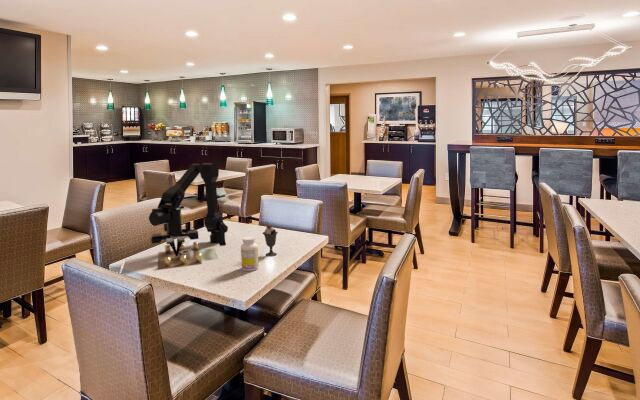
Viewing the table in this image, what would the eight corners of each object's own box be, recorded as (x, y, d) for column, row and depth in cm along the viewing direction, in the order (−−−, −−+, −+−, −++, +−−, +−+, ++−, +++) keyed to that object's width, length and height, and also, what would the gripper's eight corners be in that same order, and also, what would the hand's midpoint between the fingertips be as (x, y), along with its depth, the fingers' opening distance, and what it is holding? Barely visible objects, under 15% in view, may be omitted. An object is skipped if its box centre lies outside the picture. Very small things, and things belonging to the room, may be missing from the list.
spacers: (198, 248, 185) (197, 241, 184) (201, 262, 166) (201, 254, 166) (165, 252, 180) (164, 245, 179) (165, 267, 161) (164, 258, 161)
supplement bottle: (250, 264, 166) (248, 234, 164) (262, 267, 162) (260, 237, 160) (238, 269, 161) (236, 238, 158) (250, 272, 157) (248, 241, 155)
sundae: (263, 252, 182) (262, 220, 179) (278, 251, 182) (277, 219, 179) (263, 257, 175) (261, 223, 172) (278, 256, 176) (277, 223, 173)
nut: (193, 254, 177) (193, 248, 176) (193, 258, 172) (193, 252, 171) (179, 256, 175) (179, 250, 174) (179, 259, 170) (178, 253, 170)
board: (213, 248, 189) (213, 245, 189) (219, 264, 167) (219, 261, 167) (158, 254, 181) (158, 252, 181) (157, 272, 159) (157, 269, 159)
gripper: (195, 214, 180) (198, 248, 183) (151, 218, 174) (154, 252, 176) (197, 220, 170) (199, 255, 172) (149, 224, 163) (153, 260, 166)
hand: (176, 255), depth 172 cm, fingers closed
